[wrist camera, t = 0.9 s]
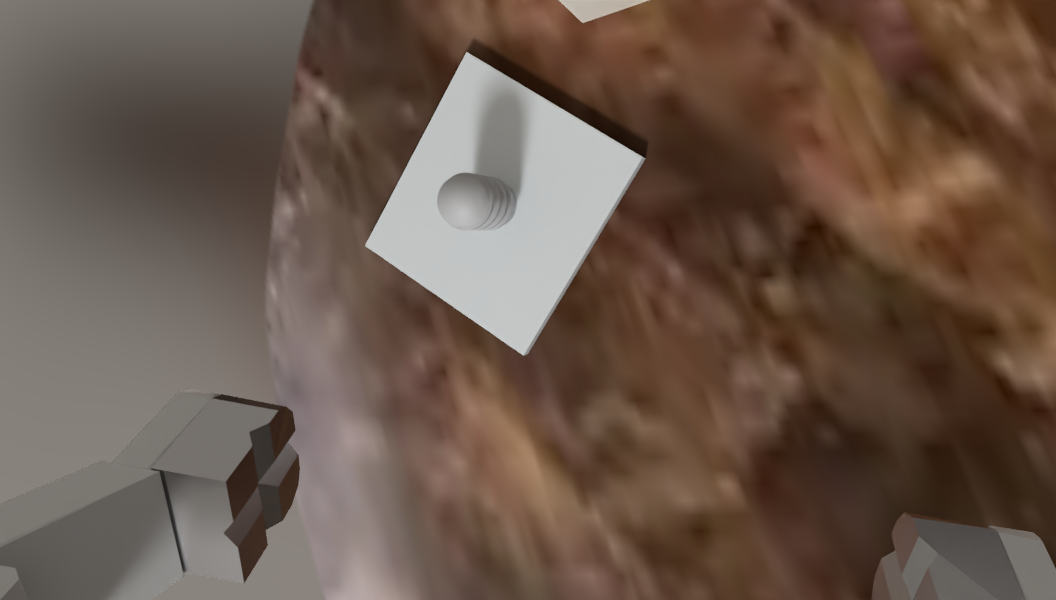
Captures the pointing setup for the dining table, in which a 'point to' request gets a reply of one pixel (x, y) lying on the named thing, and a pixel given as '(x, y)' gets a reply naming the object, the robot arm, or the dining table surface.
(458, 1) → the dining table surface
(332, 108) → the dining table surface
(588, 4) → the cream rectangular block
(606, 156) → the stud board
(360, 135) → the dining table surface
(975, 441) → the dining table surface
